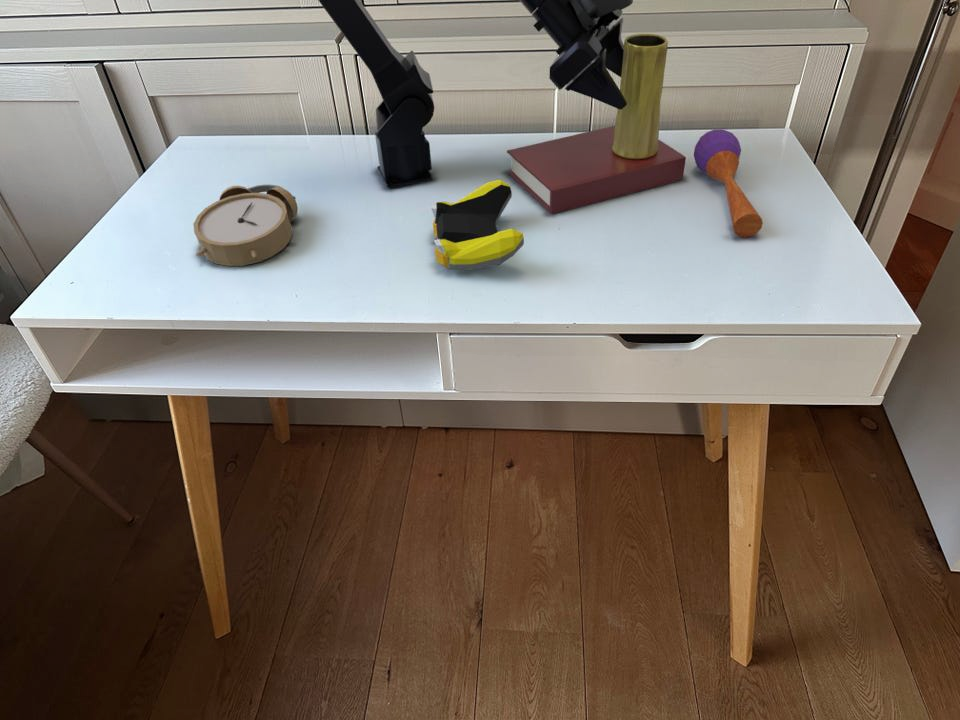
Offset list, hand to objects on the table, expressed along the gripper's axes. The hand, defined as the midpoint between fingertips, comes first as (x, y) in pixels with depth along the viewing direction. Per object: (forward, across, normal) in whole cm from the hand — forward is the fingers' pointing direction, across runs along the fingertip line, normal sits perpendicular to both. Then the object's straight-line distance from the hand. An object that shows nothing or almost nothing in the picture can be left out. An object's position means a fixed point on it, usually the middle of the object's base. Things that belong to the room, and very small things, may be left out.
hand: (629, 93), depth 93 cm
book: (+5, -2, +10) cm, 12 cm away
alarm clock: (-22, -27, +38) cm, 52 cm away
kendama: (+18, -4, -2) cm, 18 cm away
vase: (+6, 0, +4) cm, 8 cm away
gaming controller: (-2, -24, +18) cm, 30 cm away
